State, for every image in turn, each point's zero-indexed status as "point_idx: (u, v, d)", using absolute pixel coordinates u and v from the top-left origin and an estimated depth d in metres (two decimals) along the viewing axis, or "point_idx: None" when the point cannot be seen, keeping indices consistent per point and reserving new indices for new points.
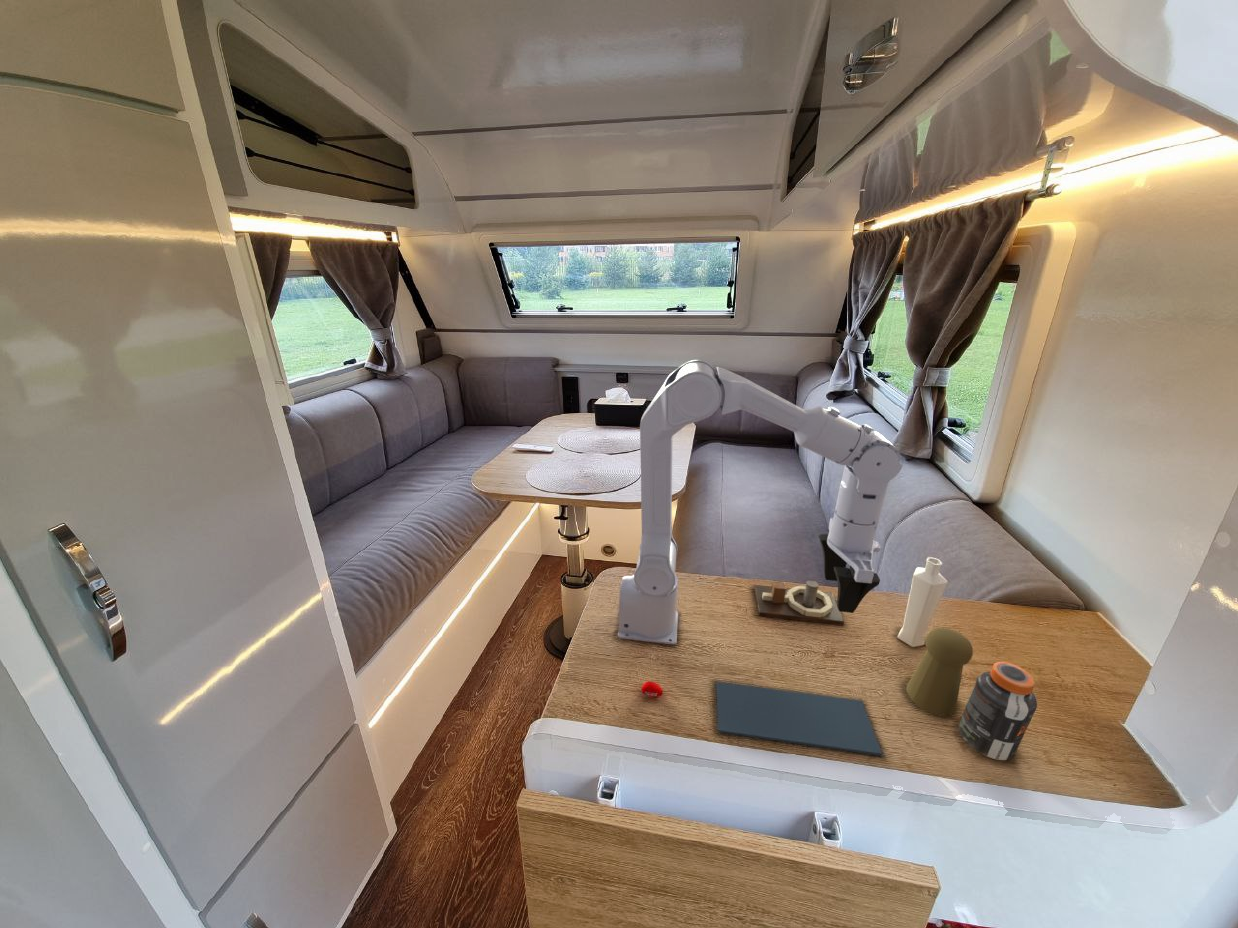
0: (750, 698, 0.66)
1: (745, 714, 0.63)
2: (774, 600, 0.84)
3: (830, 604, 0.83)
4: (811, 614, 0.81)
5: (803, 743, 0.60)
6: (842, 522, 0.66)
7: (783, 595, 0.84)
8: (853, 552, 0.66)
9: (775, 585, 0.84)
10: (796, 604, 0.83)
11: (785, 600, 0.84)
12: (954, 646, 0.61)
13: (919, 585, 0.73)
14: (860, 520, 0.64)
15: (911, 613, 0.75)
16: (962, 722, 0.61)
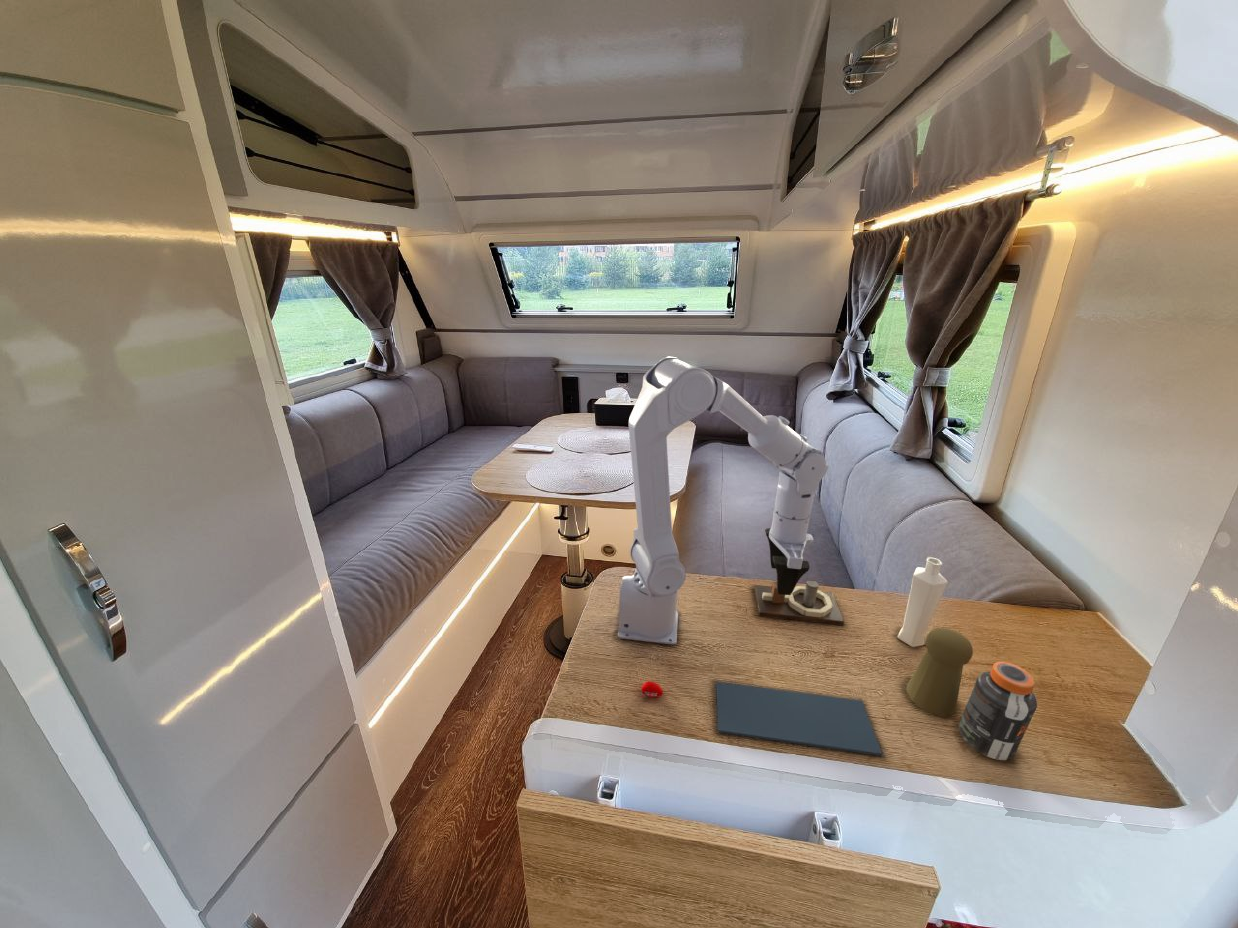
0: (750, 698, 0.66)
1: (745, 714, 0.63)
2: (774, 600, 0.84)
3: (830, 604, 0.83)
4: (811, 614, 0.81)
5: (803, 743, 0.60)
6: (779, 518, 0.77)
7: (783, 595, 0.84)
8: (788, 543, 0.78)
9: (775, 585, 0.84)
10: (796, 604, 0.83)
11: (785, 600, 0.84)
12: (954, 646, 0.61)
13: (919, 585, 0.73)
14: (800, 516, 0.76)
15: (911, 613, 0.75)
16: (962, 722, 0.61)
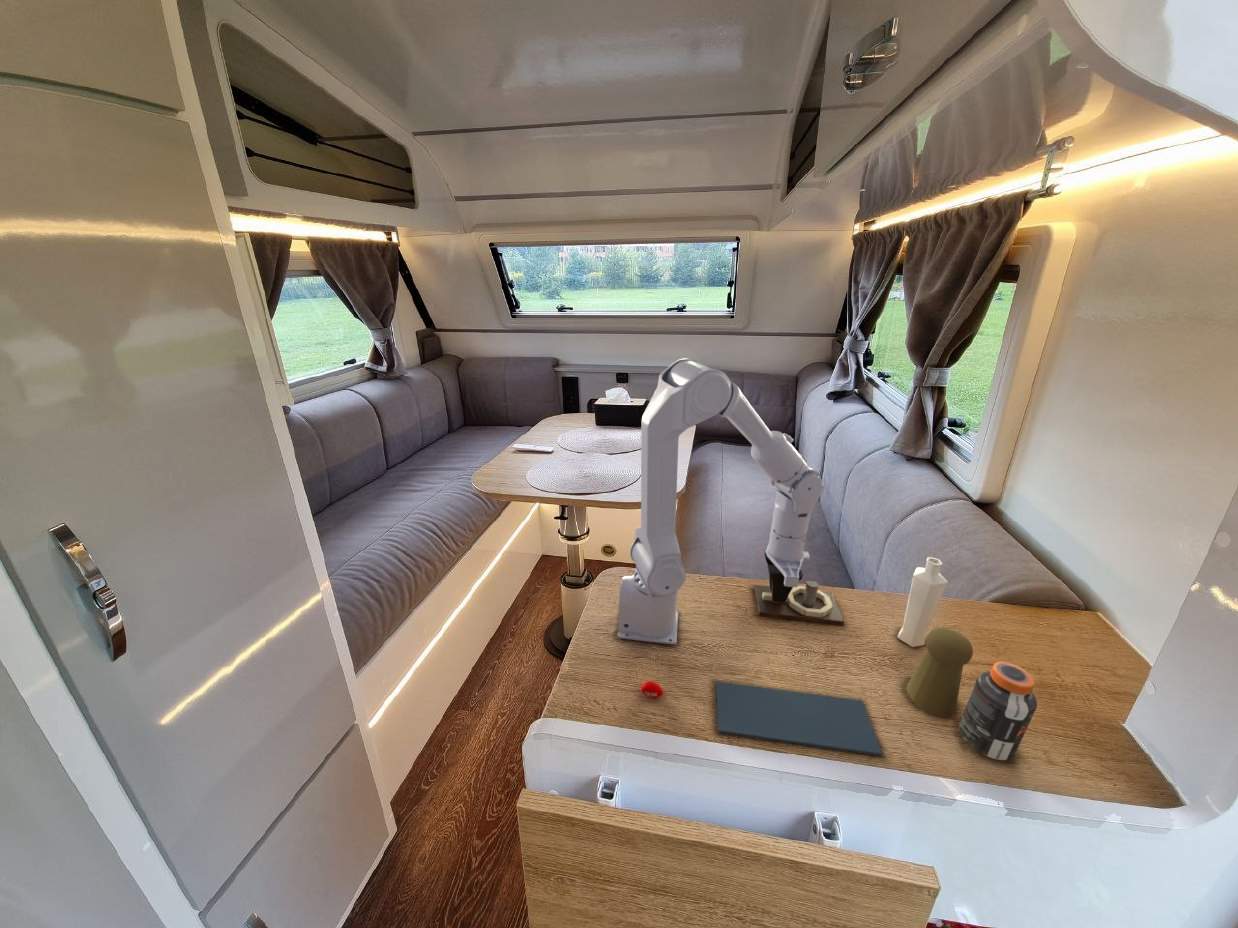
0: (750, 698, 0.66)
1: (745, 714, 0.63)
2: None
3: (830, 604, 0.83)
4: (811, 614, 0.81)
5: (803, 743, 0.60)
6: (776, 536, 0.79)
7: None
8: (785, 561, 0.79)
9: None
10: (796, 604, 0.83)
11: None
12: (954, 646, 0.61)
13: (919, 585, 0.73)
14: (797, 535, 0.77)
15: (911, 613, 0.75)
16: (962, 722, 0.61)
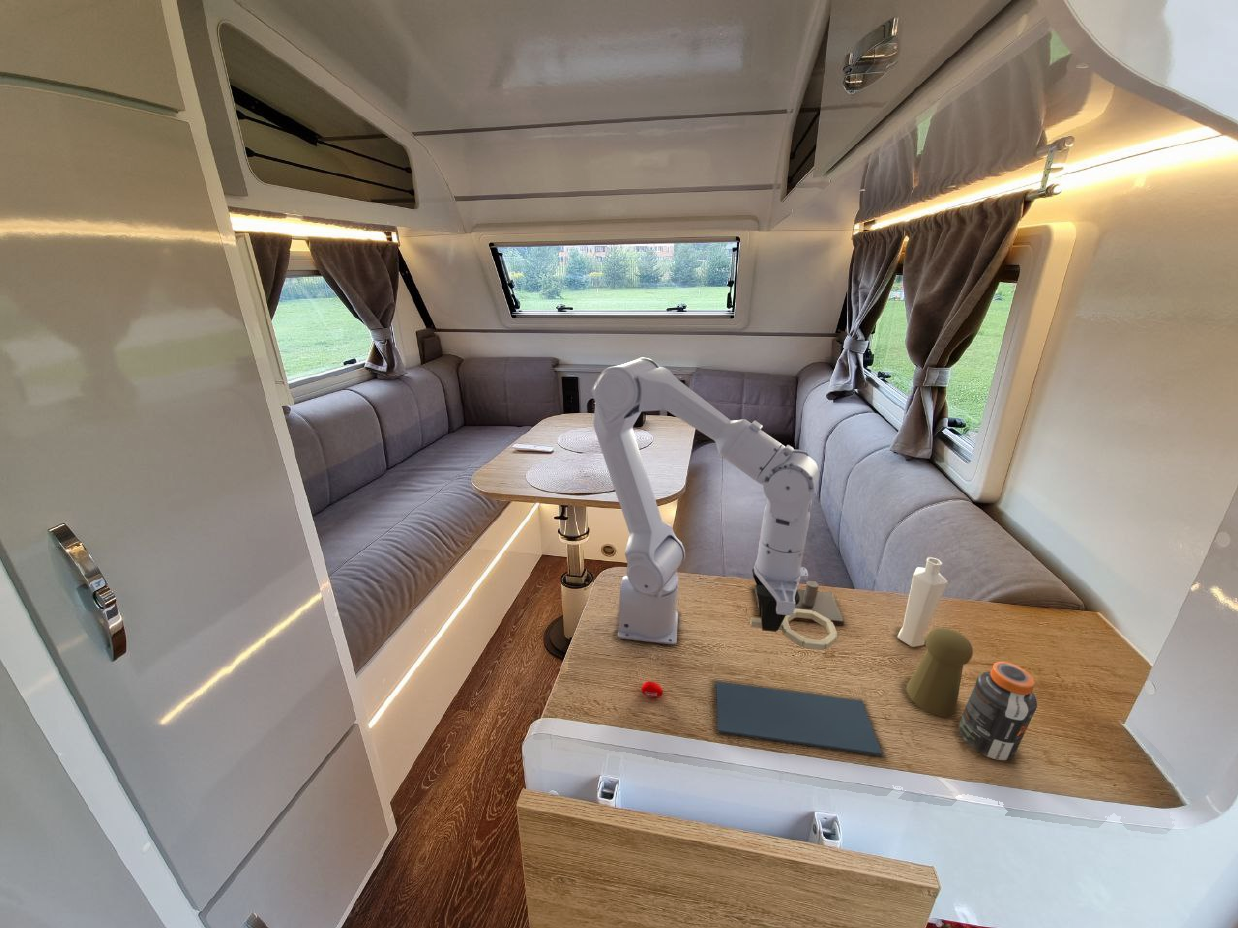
0: (750, 698, 0.66)
1: (745, 714, 0.63)
2: None
3: (834, 633, 0.66)
4: (811, 646, 0.65)
5: (803, 743, 0.60)
6: (766, 549, 0.62)
7: None
8: (778, 581, 0.62)
9: None
10: (792, 633, 0.66)
11: None
12: (954, 646, 0.61)
13: (919, 585, 0.73)
14: (774, 545, 0.61)
15: (911, 613, 0.75)
16: (962, 722, 0.61)
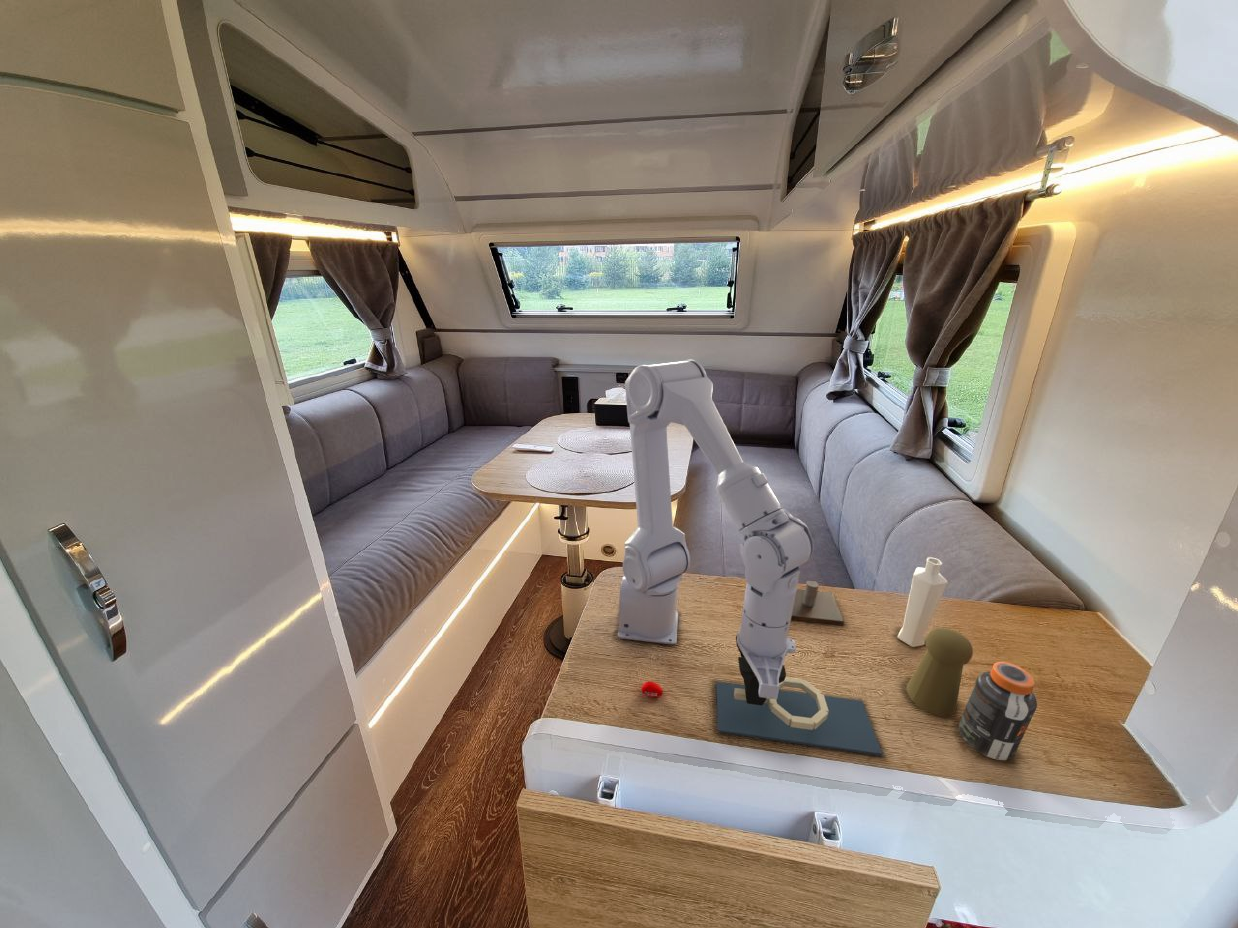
0: None
1: (745, 714, 0.63)
2: None
3: (825, 709, 0.61)
4: (799, 725, 0.59)
5: (803, 743, 0.60)
6: (748, 622, 0.57)
7: None
8: (761, 656, 0.57)
9: None
10: (779, 709, 0.61)
11: None
12: (954, 646, 0.61)
13: (919, 585, 0.73)
14: (749, 614, 0.57)
15: (911, 613, 0.75)
16: (962, 722, 0.61)
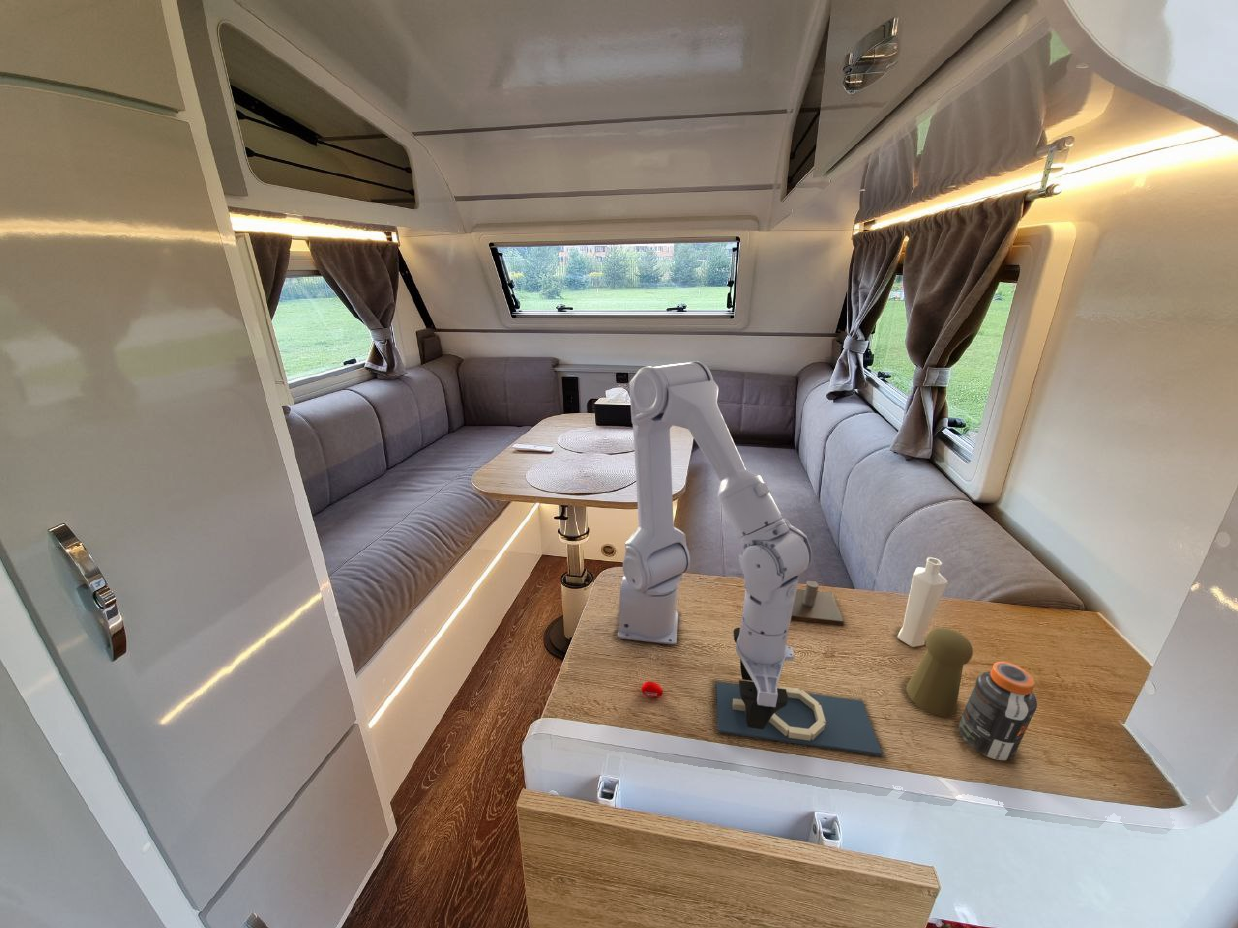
0: None
1: (745, 714, 0.63)
2: None
3: (822, 719, 0.62)
4: (796, 736, 0.60)
5: (803, 743, 0.60)
6: (747, 630, 0.57)
7: None
8: (760, 664, 0.58)
9: None
10: (777, 720, 0.61)
11: None
12: (954, 646, 0.61)
13: (919, 585, 0.73)
14: (748, 622, 0.57)
15: (911, 613, 0.75)
16: (962, 722, 0.61)
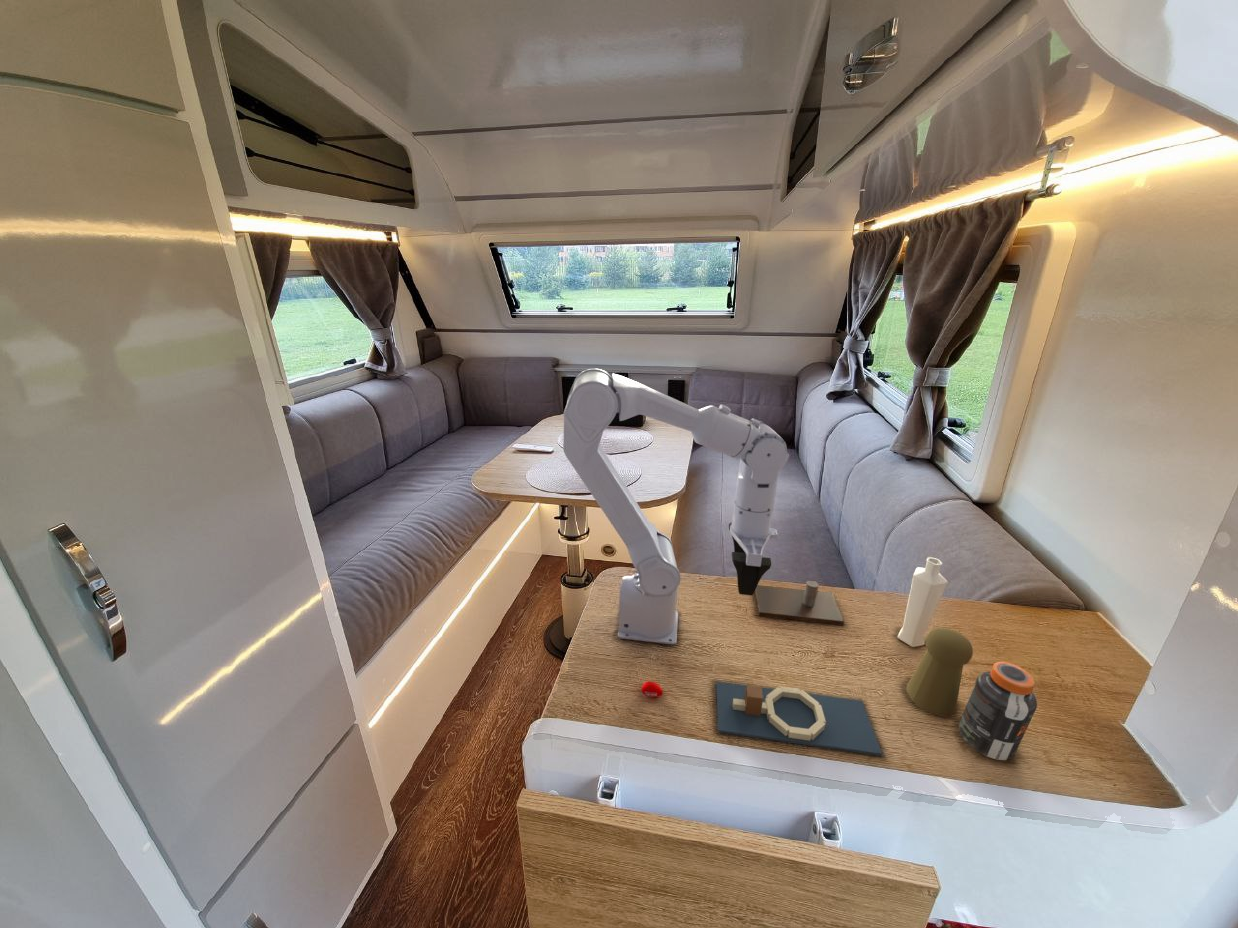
0: None
1: (745, 714, 0.63)
2: (748, 711, 0.63)
3: (822, 719, 0.62)
4: (796, 736, 0.60)
5: (803, 743, 0.60)
6: (739, 510, 0.70)
7: (759, 706, 0.62)
8: (749, 538, 0.70)
9: (749, 692, 0.63)
10: (777, 720, 0.61)
11: (762, 711, 0.63)
12: (954, 646, 0.61)
13: (919, 585, 0.73)
14: (757, 508, 0.69)
15: (911, 613, 0.75)
16: (962, 722, 0.61)
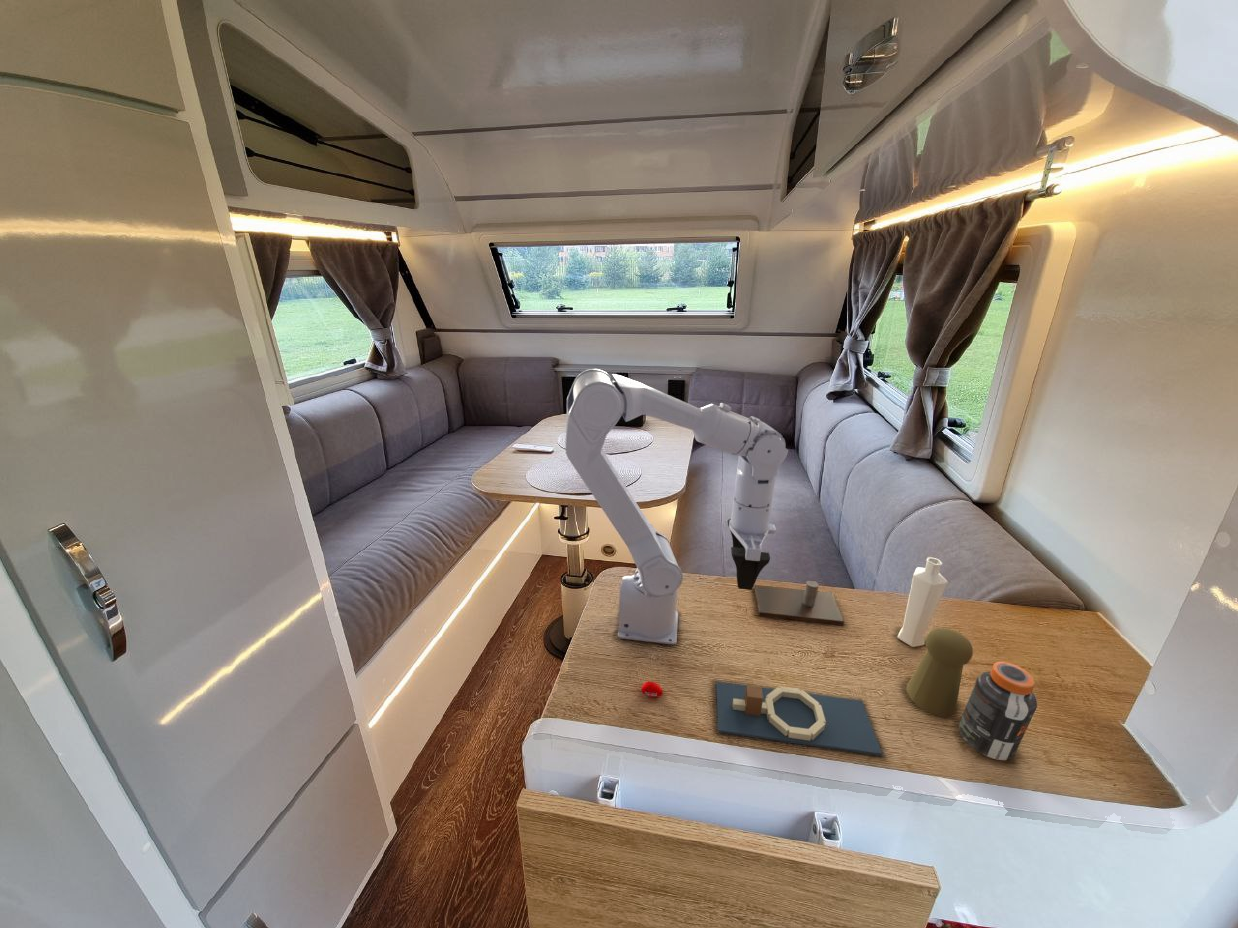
0: None
1: (745, 714, 0.63)
2: (748, 711, 0.63)
3: (822, 719, 0.62)
4: (796, 736, 0.60)
5: (803, 743, 0.60)
6: (738, 506, 0.72)
7: (759, 706, 0.62)
8: (748, 533, 0.72)
9: (749, 692, 0.63)
10: (777, 720, 0.61)
11: (762, 711, 0.63)
12: (954, 646, 0.61)
13: (919, 585, 0.73)
14: (757, 504, 0.70)
15: (911, 613, 0.75)
16: (962, 722, 0.61)
